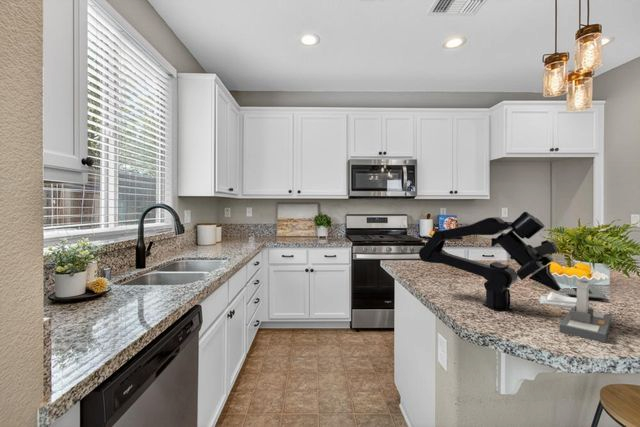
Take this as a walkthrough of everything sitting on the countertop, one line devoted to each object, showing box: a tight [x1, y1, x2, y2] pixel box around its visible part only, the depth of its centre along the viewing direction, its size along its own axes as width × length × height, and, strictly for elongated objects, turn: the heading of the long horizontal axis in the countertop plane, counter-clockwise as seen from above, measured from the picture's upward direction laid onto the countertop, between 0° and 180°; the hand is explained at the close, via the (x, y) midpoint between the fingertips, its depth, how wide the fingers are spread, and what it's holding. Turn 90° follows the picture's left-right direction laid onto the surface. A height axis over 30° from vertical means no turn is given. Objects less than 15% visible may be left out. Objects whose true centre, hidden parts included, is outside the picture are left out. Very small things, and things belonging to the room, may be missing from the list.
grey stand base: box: [559, 305, 613, 344], centre depth 86 cm, size 9×20×4 cm, turn 133°
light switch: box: [539, 291, 577, 309], centre depth 108 cm, size 11×4×13 cm
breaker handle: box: [575, 279, 591, 313], centre depth 87 cm, size 2×5×8 cm, turn 133°
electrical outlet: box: [563, 288, 606, 301], centre depth 117 cm, size 13×10×2 cm
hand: (559, 290), depth 91 cm, fingers closed
